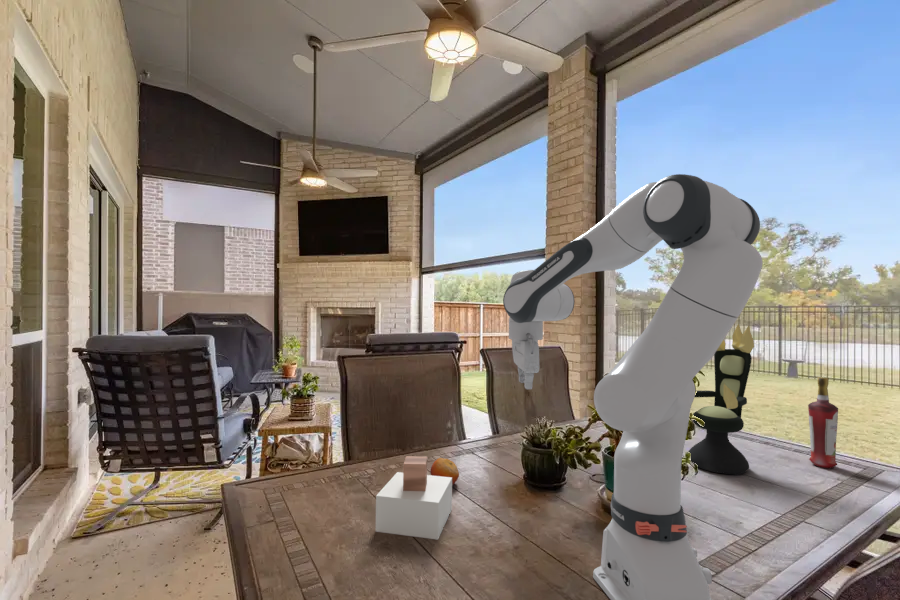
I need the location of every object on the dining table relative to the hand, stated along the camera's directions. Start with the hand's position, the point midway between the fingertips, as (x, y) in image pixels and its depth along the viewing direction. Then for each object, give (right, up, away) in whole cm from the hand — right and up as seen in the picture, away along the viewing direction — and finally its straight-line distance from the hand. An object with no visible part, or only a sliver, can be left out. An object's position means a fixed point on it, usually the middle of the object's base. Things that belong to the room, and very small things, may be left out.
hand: (525, 385), depth 113 cm
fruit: (-21, -29, +6) cm, 36 cm away
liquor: (+99, -31, +25) cm, 107 cm away
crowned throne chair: (+66, -30, +25) cm, 77 cm away
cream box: (-28, -28, -14) cm, 42 cm away
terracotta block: (-28, -20, -14) cm, 37 cm away
